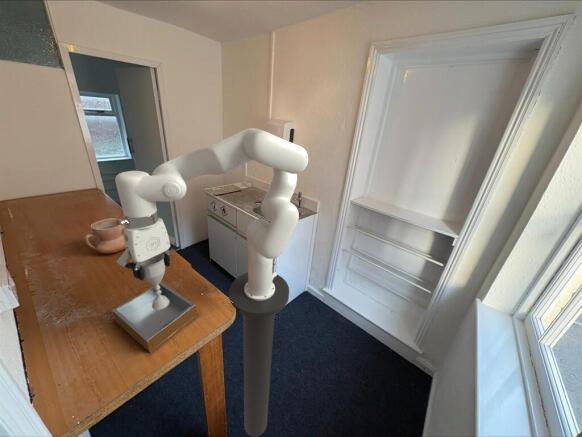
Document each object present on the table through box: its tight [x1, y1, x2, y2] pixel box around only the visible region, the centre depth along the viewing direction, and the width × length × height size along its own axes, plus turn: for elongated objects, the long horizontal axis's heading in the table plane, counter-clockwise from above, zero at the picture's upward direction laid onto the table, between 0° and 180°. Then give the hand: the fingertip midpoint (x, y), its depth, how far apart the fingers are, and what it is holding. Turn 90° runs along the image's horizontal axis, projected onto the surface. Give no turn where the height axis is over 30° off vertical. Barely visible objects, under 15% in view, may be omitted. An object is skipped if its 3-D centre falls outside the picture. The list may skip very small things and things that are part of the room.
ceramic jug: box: [84, 217, 126, 255], centre depth 112 cm, size 18×14×14 cm
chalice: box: [140, 253, 169, 310], centre depth 71 cm, size 7×7×18 cm
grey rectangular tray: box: [111, 281, 198, 353], centre depth 80 cm, size 17×20×5 cm
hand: (153, 270), depth 69 cm, fingers closed on chalice, 7 cm apart
